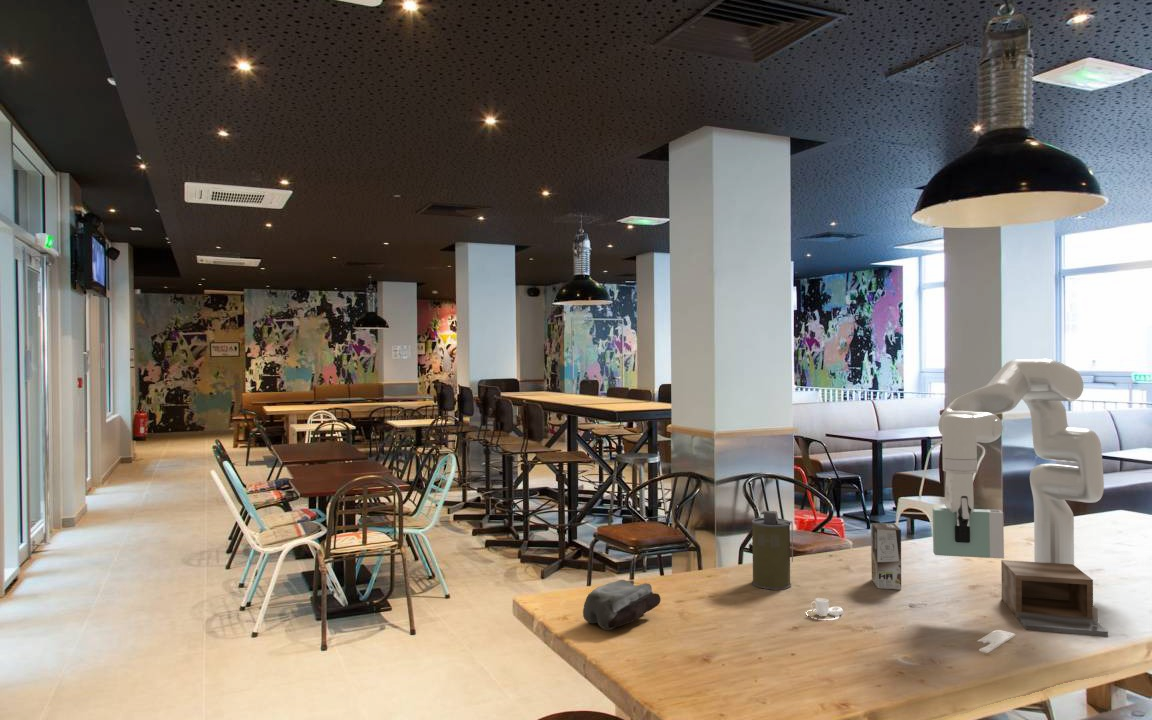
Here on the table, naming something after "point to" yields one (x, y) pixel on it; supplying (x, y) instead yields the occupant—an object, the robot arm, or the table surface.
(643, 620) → the table surface
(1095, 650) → the table surface
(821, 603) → the teacup and saucer
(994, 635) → the white plastic blade
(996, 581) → the table surface
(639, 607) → the rock
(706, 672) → the table surface
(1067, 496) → the robot arm
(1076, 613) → the cabinet
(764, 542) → the canister
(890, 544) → the coffee box
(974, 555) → the green and grey box
